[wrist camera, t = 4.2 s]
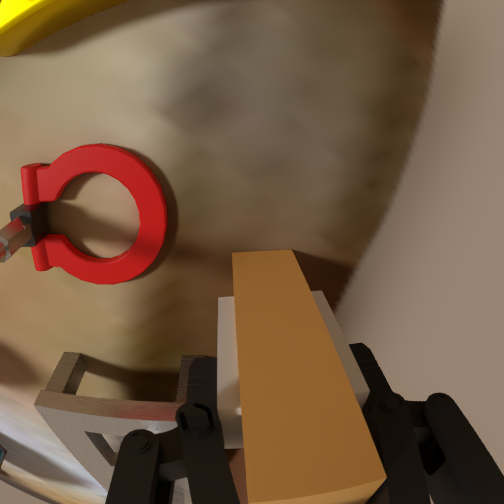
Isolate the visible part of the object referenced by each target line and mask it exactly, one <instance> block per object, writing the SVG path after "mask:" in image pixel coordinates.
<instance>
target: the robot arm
mask: <svg viewBox="0 0 504 504" xmlns="http://www.w3.org/2000/svg"><path fill="white" fill-rule="evenodd" d="M311 293H312V295H313V298H314V300H315V302H316V304H317V307H318V309H319V311H320V313H321V316H322V318H323V320H324V323H325V325H326V327H327V329H328V332H329V334H330V336H331V339H332V341H333V343H334V346H335V348H336V351H337V353H338V355H339V358H340V360H341V362H342V365H343V367H344V370H345V372H346V374H347V377H348V379H349V382H350V384H351V386H352V389H353V391H354V394H355V396H356V399H357V401H358V404H359V406H360V409H361V411H362V414H363V416H364V419H365V421H366V424H367V426H368V429H369V432H370V434H371V437H372V439H373V442H374V444H375V447H376V450H377V452H378V455H379V458H380V460H381V463H382V466H383V468H384V471H385V474H386V476H387V478H386V479H385V481H384V482H383V483H382V484H381V485H380V487H379V488H378V489H377V490H376V491H375V492H374V494H373V495H372V496H371V497H370V498H369V499H368V500H367V501H366V503H365V504H431V502H430V497H429V494H430V496H431V498H432V500H433V503H434V504H504V476H503V474H502V473H501V471H500V469H499V468H498V466H497V464H496V463H495V461H494V460H493V458H492V456H491V455H490V453H489V452H488V451H487V449H486V447H485V445H484V444H483V443H482V441H481V439H480V438H479V437H478V435H477V433H476V432H475V430H474V429H473V427H472V426H471V424H470V423H469V421H468V420H467V419H466V417H465V416H464V415H463V413H462V411H461V410H460V408H459V407H458V406H457V404H456V403H455V401H454V400H453V399H452V398H451V397H450V396H448V395H446V394H444V393H434V394H432V395H430V396H429V397H428V399H427V400H426V401H406V400H404V398H403V397H402V396H400V395H399V394H396V393H394V392H393V391H392V390H391V388H390V386H389V384H388V382H387V380H386V378H385V376H384V374H383V372H382V370H381V369H380V367H379V366H378V363H377V361H376V360H375V357H374V355H373V354H372V352H371V350H370V349H369V348H368V347H367V346H365V345H364V344H363V343H356V344H349V345H348V343H347V341H346V339H345V337H344V335H343V333H342V331H341V328H340V326H339V324H338V322H337V320H336V318H335V316H334V314H333V312H332V310H331V308H330V306H329V304H328V302H327V300H326V298H325V296H324V294H323V292H322V291H311ZM187 385H188V386H187V394H186V402H185V403H184V404H183V405H181V406H180V407H179V408H178V410H177V411H176V415H175V420H176V422H177V425H178V426H177V427H176V428H174V429H172V430H169V431H166V432H162V433H158V434H154V433H152V432H151V431H149V430H146V429H136V430H133V431H130V432H129V433H128V434H126V435H125V436H124V438H123V440H122V442H121V446H120V450H119V453H118V457H117V460H116V464H115V468H114V471H113V475H112V479H111V483H110V487H109V491H108V495H107V499H106V503H105V504H172V501H173V493H174V486H175V480H178V479H182V478H186V477H187V479H188V485H189V490H190V496H191V501H192V504H240V502H239V498H238V495H237V492H236V488H235V485H234V482H233V477H232V474H231V470H230V467H229V463H228V459H227V456H226V452H225V449H232V448H244V443H243V430H242V416H241V402H240V388H239V373H238V357H237V340H236V323H235V305H234V297H218V349H217V357H210V358H195V359H194V360H193V362H192V363H191V365H190V366H189V374H188V384H187Z"/></svg>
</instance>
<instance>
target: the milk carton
mask: <svg viewBox="0 0 504 504" xmlns="http://www.w3.org/2000/svg"><path fill="white" fill-rule="evenodd" d="M6 452H7V451H6V450H5V449H4V448H3V447H2V446H1V445H0V468H1V465H2V463H3V460H4V457H5V455H6Z"/></svg>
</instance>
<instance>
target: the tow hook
mask: <svg viewBox="0 0 504 504" xmlns="http://www.w3.org/2000/svg"><path fill="white" fill-rule="evenodd" d="M88 172H99V173H104V174H108V175H110V176H112V177H114V178H115V179H117V180H119V181H120V182H121V183H122V184H123V185H124V186H125V187H126V188H128V190H129V191H130V193H131V194H132V196H133V197H134V199H135V201H136V204H137V207H138V210H139V217H140V228H139V233H138V237H137V239H136V241H135V243H134V244H133V245H132V246H131V247H130V249H129V250H127V251H126V252H124V253H122V254H121V255H119V256H116V257H112V258H96V257H92V256H88V255H86V254H84V253H83V252H81V251H79V250H78V249H77V248H76V247H74V246H73V245H72V244H71V243H70V241H69V240H68V239H67V237H66V236H64V235H63V234H49V233H50V226H49V219H48V211H47V202H49V201H55V200H56V199H58V198H59V197H60V196H61V195H62V192H63V190H64V189H65V187H66V186H67V184H68V183H69V182H70V181H71V180H72V179H73V178H74V177H76V176H78V175H80V174H83V173H88ZM21 178H22V189H23V198H24V204H22V205H20V206H19V207H17V208H16V209H14V210H13V211H11V212H10V218H11V222H10V223H9V224H7V225H6V226H5V227H3V228H2V229H1V230H0V263H1V262H3V263H4V262H5V261H6V260H7V259H9V258H10V257H11V256H12V255H13V254H14V253H15V252H16V251H17V250H18V249H19V248H21V247H31V250H32V255H33V260H34V264H35V269H36V270H37V271H46V270H49V269H51V268H52V267H53V266H55V267H62V268H63V269H64V270H65V271H66V272H68V273H69V274H71V275H73V276H75V277H77V278H79V279H81V280H83V281H87V282H91V283H95V284H117V283H121V282H125V281H129V280H131V279H132V278H134V277H136V276H138V275H139V274H141V273H143V272H144V271H145V270H146V269H147V268H148V267H149V266H150V264H151V263H152V262H153V261H154V260H155V258H156V257H157V255H158V253H159V251H160V249H161V247H162V245H163V242H164V238H165V233H166V229H167V224H168V219H167V203H166V200H165V197H164V194H163V191H162V187H161V185H160V183H159V182H158V180H157V179H156V177H155V175H154V174H153V172H152V171H151V169H150V168H149V167H148V166H147V165H146V164H145V163H144V162H142V161H141V160H140V159H139V158H138V157H137V156H136V155H134V154H132V153H130V152H128V151H126V150H124V149H123V148H121V147H118V146H113V145H108V144H102V143H99V144H89V145H82V146H79V147H77V148H75V149H72V150H70V151H68V152H66V153H64V154H62V155H61V156H60V157H59V158H58V159H56V160H55V161H54V162H53V163H52V164H51V165H50V166H42V164H40V163H35V164H29V165H25V166H23V167H21Z"/></svg>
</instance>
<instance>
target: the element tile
mask: <svg viewBox="0 0 504 504" xmlns="http://www.w3.org/2000/svg"><path fill="white" fill-rule="evenodd" d="M127 1H129V0H0V56H1V57H9V56H14V55H16V54H18V53H20V52H22V51H24V50H25V49H27V48H29V47H30V46H32V45H34V44H35V43H37V42H39V41H41V40H42V39H44V38H46V37H48V36H50V35H52V34H53V33H55V32H57V31H59V30H61V29H63V28H65V27H67V26H69V25H71V24H73V23H75V22H78V21H80V20H82V19H84V18H86V17H89V16H91V15H93V14H96V13H98V12H100V11H103V10H105V9H108V8H110V7H113V6H116V5H118V4H121V3H124V2H127Z"/></svg>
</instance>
